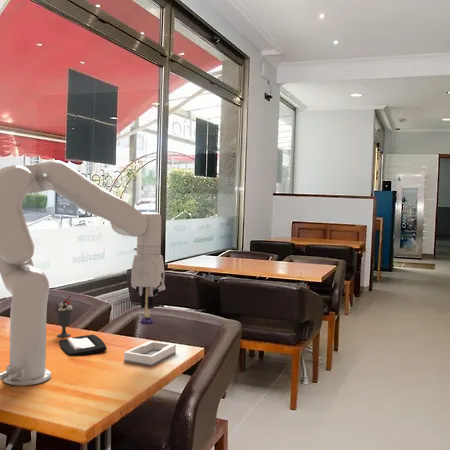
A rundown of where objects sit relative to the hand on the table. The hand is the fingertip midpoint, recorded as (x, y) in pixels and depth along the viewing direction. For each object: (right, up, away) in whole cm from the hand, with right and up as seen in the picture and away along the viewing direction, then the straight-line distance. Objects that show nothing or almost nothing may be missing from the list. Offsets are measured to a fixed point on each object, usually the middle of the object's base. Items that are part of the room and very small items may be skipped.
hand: (147, 307), depth 167 cm
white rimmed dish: (0, -17, +3) cm, 17 cm away
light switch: (-25, -16, +13) cm, 32 cm away
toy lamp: (0, -5, 0) cm, 5 cm away
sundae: (-35, -15, +27) cm, 47 cm away
